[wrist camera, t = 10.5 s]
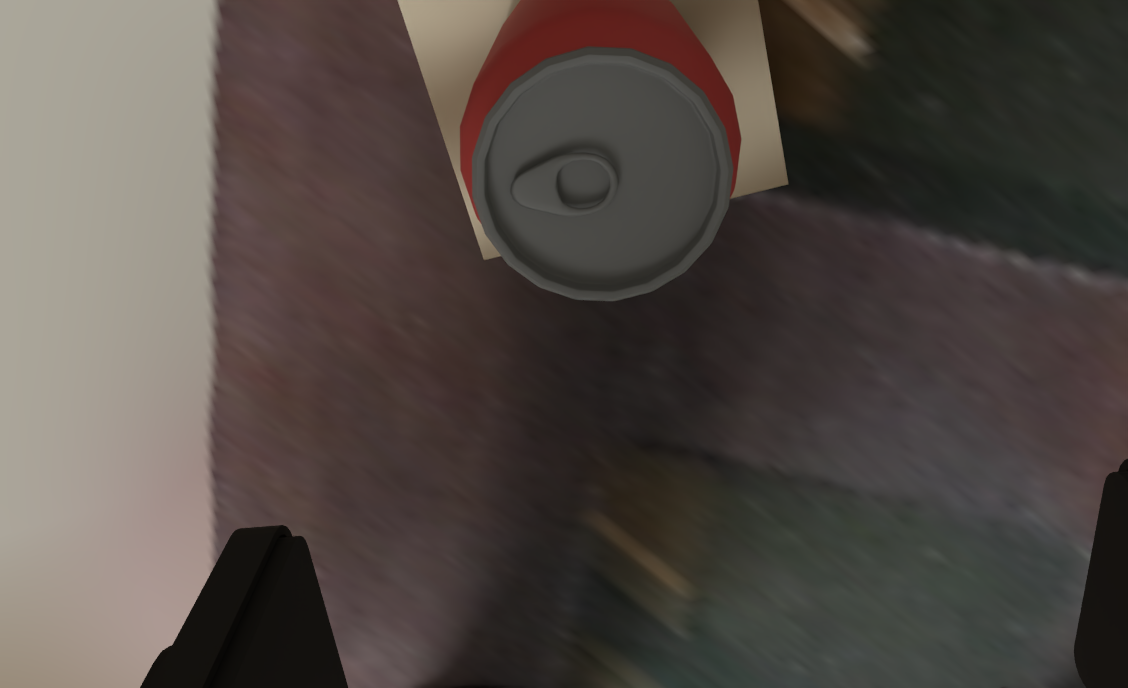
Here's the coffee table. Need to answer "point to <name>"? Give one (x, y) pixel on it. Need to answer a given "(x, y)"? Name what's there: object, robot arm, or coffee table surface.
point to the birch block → (708, 5)
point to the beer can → (599, 146)
